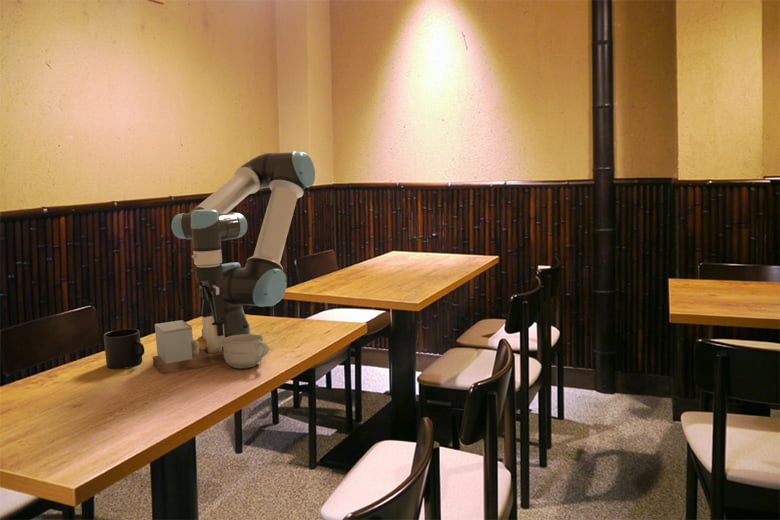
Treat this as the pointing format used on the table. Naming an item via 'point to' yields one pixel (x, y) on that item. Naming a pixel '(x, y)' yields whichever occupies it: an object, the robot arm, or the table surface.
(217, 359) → the wooden tray
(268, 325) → the table surface
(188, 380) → the table surface
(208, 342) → the pin
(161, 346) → the cover
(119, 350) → the mug
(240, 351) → the teacup
